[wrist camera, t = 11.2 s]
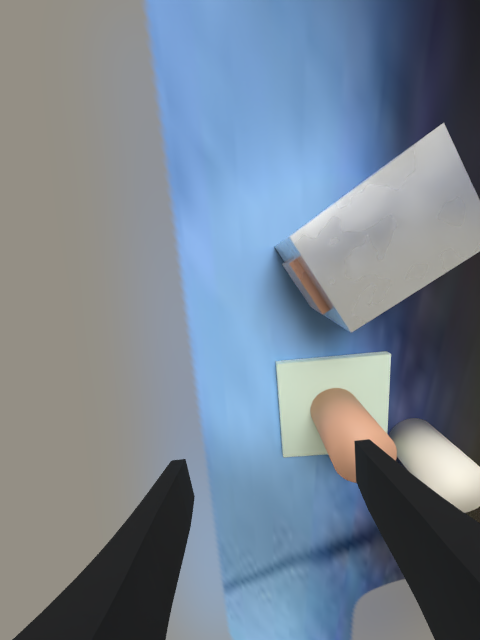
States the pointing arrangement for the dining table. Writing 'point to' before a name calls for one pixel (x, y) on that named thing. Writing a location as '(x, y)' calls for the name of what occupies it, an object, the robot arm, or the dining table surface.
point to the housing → (387, 234)
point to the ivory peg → (437, 463)
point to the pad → (319, 375)
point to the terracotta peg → (346, 429)
